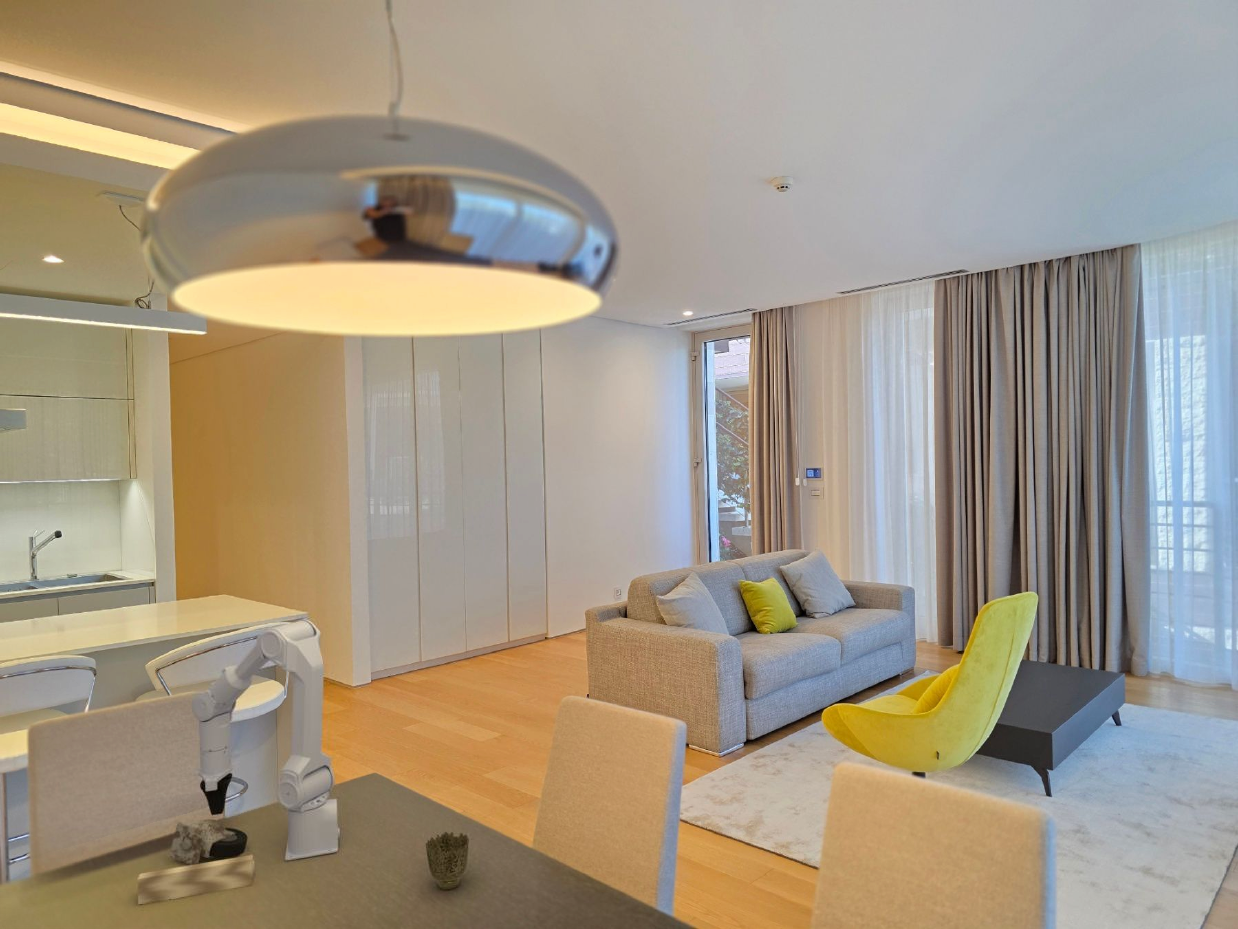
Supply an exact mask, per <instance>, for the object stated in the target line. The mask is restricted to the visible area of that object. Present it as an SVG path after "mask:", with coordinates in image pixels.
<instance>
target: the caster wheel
mask: <svg viewBox="0 0 1238 929" xmlns="http://www.w3.org/2000/svg"><path fill="white" fill-rule="evenodd" d="M247 842H248V834H246V832H244V831H242V830H240V829H237V828H233V827H232V828H231V827H225V826H224V824H222V823H221V822H220V821H219V820H215V819H212V818H211V819H208V818H207V819H202V820H200V821H197V822H194V823H191V824H189V825H188V824H187V823H183V822H181V821H178V822H177V823H176V827H175V833H174V835H173V840H172V843H171V847H170V851H169V854H168V856H169V858H171V859H174V860H176V861H179V862H182V863H183V864H186V865H187V866H190V865H195V864H199V861H200V857H203V858H217V859H231V858H236V857H238V856H240V855H242V854H243V853H244V852H245V850H246V846H247Z"/></svg>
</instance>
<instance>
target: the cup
mask: <svg viewBox="0 0 1238 929" xmlns="http://www.w3.org/2000/svg"><path fill="white" fill-rule="evenodd" d="M469 843H470V838H469V836H468V835H467V834H464V833H462V832H461V833H459V836H454V832H452V831H451V832H450V833H448V832H447V831H444V832H443V833H442V834H441V836H440V835H439V834H436V836H435V838H434V837H432V836H431V837H430V838H429V839H427V842H425V848H426V857H427V863H428V868H429V871H430V874H431V876H432V877H433V878H434V879H435V880H436V881H437V885H438V887H439V888H440V889H441V890H444V891H449V890H453V889H455V888H456V887H458V885H459V883H460V877H461V876H462V875H463V874H464V872H466V871H465V870H466V868H467V864H468V855H469V854H468V853H469Z"/></svg>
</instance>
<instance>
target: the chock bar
mask: <svg viewBox="0 0 1238 929" xmlns="http://www.w3.org/2000/svg"><path fill="white" fill-rule="evenodd" d="M253 855H254V854H250V855H244V856H239V857H238V856H236V857H231V858H224V859H219V860H214V861H209V862H203V863H198V864H195V865H185V866H178V867H173V868H168V869H167V868H165V869H159V870H154V871H150V872H149V871H148V872H143V873H140V874H139V876H138V878H137V904H138V906H140V905H139V904H143V905H147V904H146V903H149V904H151V903H150V902H154V903H158V902H157V901H160V902H163V901H170V900H169V899H171V900H175V899H176V900H177V899H182V898H186V897H187V898H188V897H193V896H199V895H203V894H209V893H215V892H221V891H226V890H231V889H236V888H243V887H249V886H253V883H254V880H255V874H256V872H255V871H256V864H255V860H254V857H253ZM181 897H182V898H181Z"/></svg>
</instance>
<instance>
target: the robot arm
mask: <svg viewBox="0 0 1238 929" xmlns="http://www.w3.org/2000/svg"><path fill="white" fill-rule="evenodd" d="M321 633H322V632H321V631H320V630H319V629H318V627H317V626H316V625H315V624H314V623H313V622H312V621H310V620H309V619H304V618H303V619H300V620H297V621H294V622H290V623H287V624H283V625H279V626H274V627H268V628H266V629H264V631H262V633H261V634H260V635H258V636H257V637H256V643H255V644H254V645H253V647H252V648H251V649H250V650H249V651H248V653H247V654H246V655H245V656H244V657H243V659H242V660H241V661H240V663H239V664H237V665H235V664H234V665H231V666H226V667H224V668H223V669H222V670H221V673H222V674H221V675H219V677H218V678H217V679H216V681H212V682H211V683H210V685H209V687H208V689H207V690H205V691H200V692H197V693H196V694H195V696H194V697H193V698H192V701H191V711H192V713H193V716H194V717H195V718H196V719H197V720H198V729H199V730H198V731H199V737H198V738H199V764H200V768H199V769H196V770H195V771H194V773H193V776H194V777H200V778H201V779H202V780H201V781H200V783H199V787H200V789H201V792H203V794H204V796H205V798H206V801H207V804H208V807H209V811H210V815H211V816H215V815H222V814H223V812H224V810H225V806H226V800H227V799H226V798H227V793H228V789H229V786H230V783H231V782H232V778H233V773H232V771H233V765H232V743H231V722H232V719H233V712H234V710H235V708H236V705H237V700H238V699H240V697H242V695H243V694H244V693H245V692H246V691H247V690H248V689H249V688H250V687H251V685H252V683H253V677H252V676H253V675H255V674H256V673H257V672H258V671H260V670H261V669H262V667H264V665H265V664H267V663H268V662H269V661H270V662H272V663H273V664H275V665H276V666H278V667H279V668H280V669H282V670H284V671H285V672H288V673H290V674H291V675H292V676H293V678H292V680H293V683H292V684H293V686H292V711H291V712H292V713H291V714H292V717H291V746H290V747H291V750H290V751H291V752H290V757H289V758H288V760H287V761H286V763H284V766H283V767H282V768H281V771H280V772H281V774H280V780H279V781H278V785H277V788H276V795H277V799H278V801H279V803H280V804H281V806H282V807H283V809H284V810H287V811H286V812H287V813H286V815H287V818H286V820H287V843H286V850H285V854H284V856H285V857H284V860H285V861H294V860H299V859H305V858H310V857H317V856H322V855H329V854H335V853H338V851H339V838H340V837H341V834H340V833H341V832H340V831H341V830H340V827H339V825H338V823H339V822H338V799H337V798H329V797H330V793H329V792H331V790H332V789H333V788H334V785H335V772H334V771H333V767H332V758H331V757H330V756H328V755H327V754H326V753H324V752H322V741H323V740H322V738H323V736H322V735H323V734H322V733H323V712H324V711H323V708H324V707H323V703H324V673H325V672H324V671H325V670H324V669H325V668H324V667H325V666H324V665H325V664H324V660H323V656H322V651H321V642H322V639H321V638H322V637H321V636H322V634H321Z"/></svg>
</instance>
